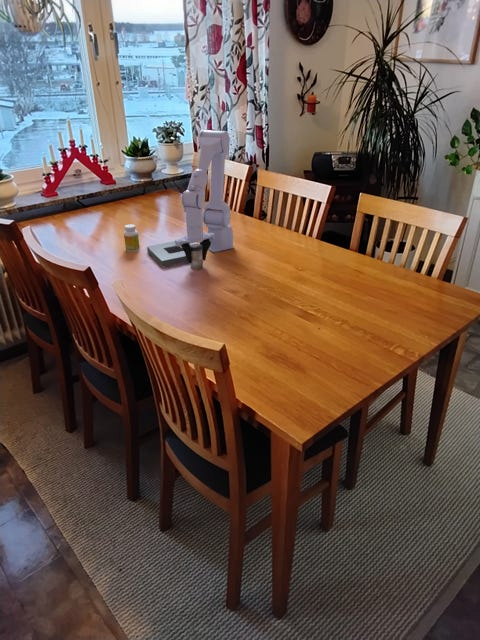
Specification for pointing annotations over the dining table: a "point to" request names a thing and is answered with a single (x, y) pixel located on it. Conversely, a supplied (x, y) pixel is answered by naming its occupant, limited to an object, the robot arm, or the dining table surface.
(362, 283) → the dining table surface
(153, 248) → the socket block
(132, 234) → the supplement bottle
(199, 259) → the capped peg
